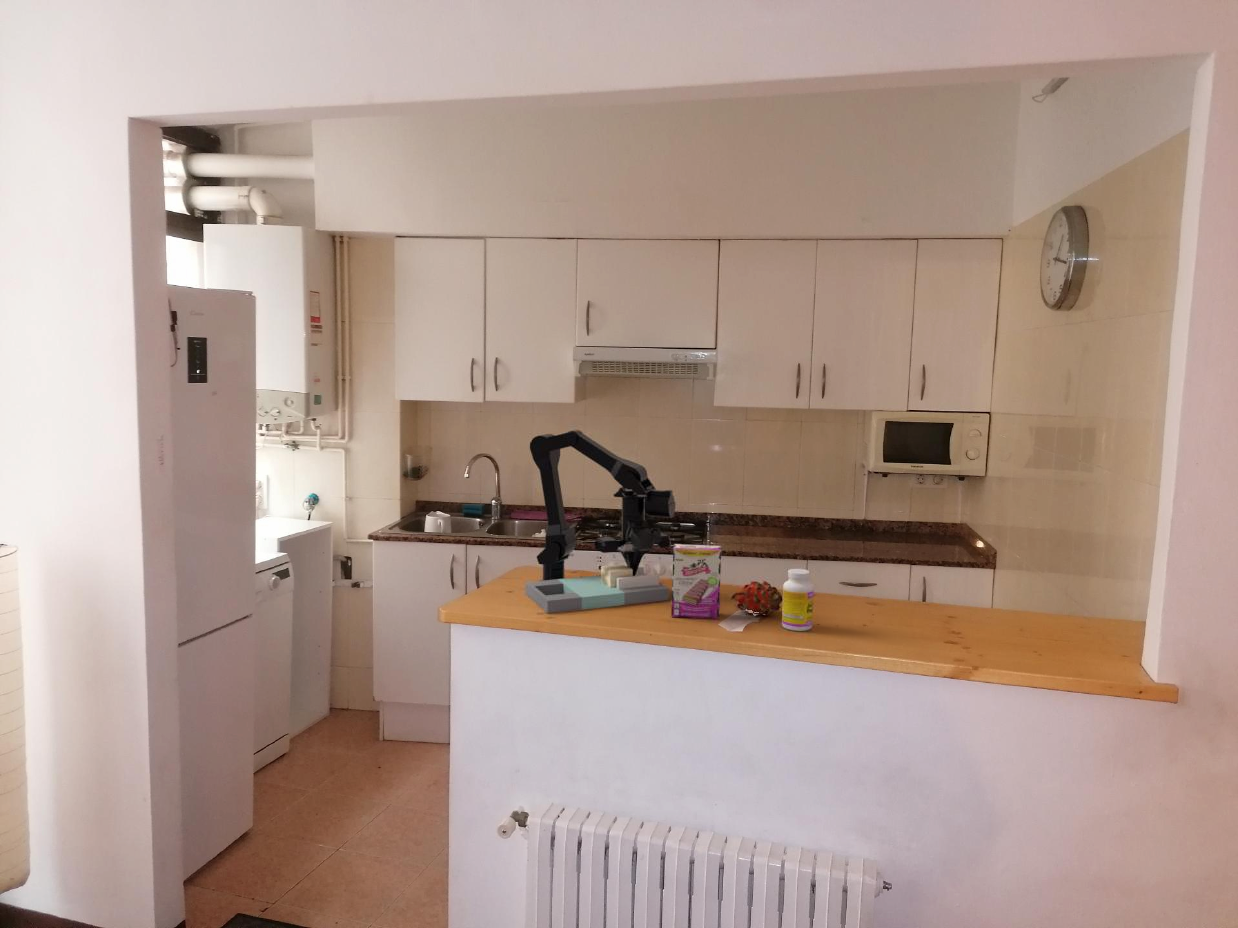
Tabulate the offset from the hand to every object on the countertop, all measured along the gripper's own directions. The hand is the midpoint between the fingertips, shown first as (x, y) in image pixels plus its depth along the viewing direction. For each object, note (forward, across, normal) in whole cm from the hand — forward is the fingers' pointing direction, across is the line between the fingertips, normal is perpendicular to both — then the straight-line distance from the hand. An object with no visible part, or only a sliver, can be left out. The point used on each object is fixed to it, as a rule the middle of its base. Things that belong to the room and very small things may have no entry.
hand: (632, 575), depth 220 cm
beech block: (+2, -5, 0) cm, 5 cm away
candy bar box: (+5, +6, -23) cm, 24 cm away
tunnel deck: (+4, -10, 0) cm, 11 cm away
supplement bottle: (+5, +22, -39) cm, 45 cm away
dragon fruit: (+5, +20, -27) cm, 34 cm away
